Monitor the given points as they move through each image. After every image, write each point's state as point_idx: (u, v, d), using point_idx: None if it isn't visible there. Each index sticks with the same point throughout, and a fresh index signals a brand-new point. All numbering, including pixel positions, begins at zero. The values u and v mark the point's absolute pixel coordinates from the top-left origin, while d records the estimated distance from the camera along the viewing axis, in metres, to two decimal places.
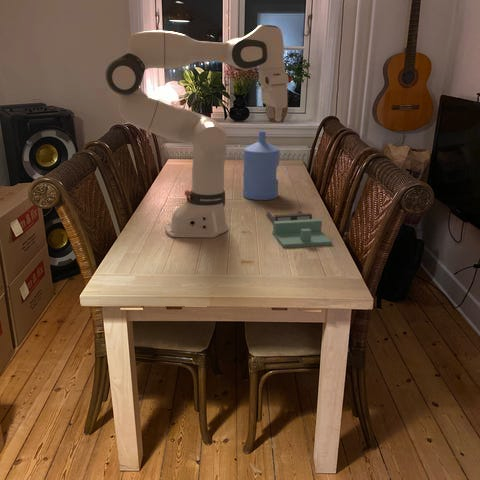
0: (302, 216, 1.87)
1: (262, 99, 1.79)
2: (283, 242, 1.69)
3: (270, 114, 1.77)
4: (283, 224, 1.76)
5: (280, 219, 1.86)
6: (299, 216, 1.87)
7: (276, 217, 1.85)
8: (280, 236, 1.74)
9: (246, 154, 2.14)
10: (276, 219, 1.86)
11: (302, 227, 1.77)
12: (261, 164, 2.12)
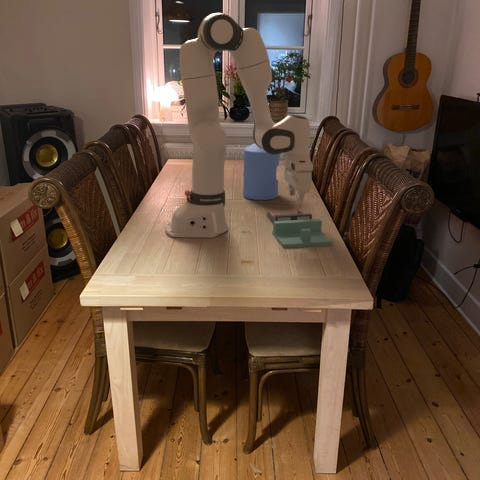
0: (302, 216, 1.87)
1: (285, 177, 1.90)
2: (283, 242, 1.69)
3: (292, 192, 1.89)
4: (283, 224, 1.76)
5: (280, 219, 1.86)
6: (299, 216, 1.87)
7: (276, 217, 1.85)
8: (280, 236, 1.74)
9: (246, 154, 2.14)
10: (276, 219, 1.86)
11: (302, 227, 1.77)
12: (261, 164, 2.12)
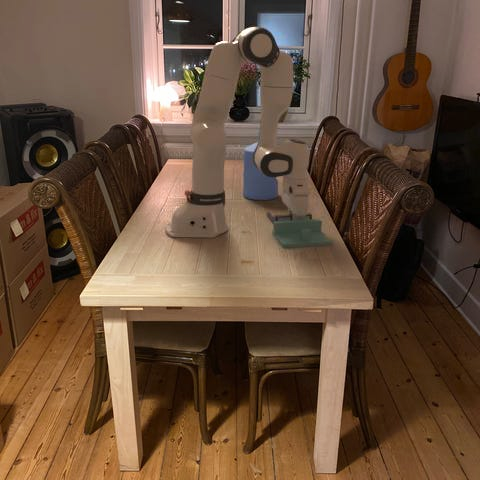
0: None
1: (282, 199, 1.93)
2: (283, 242, 1.69)
3: None
4: (283, 224, 1.76)
5: (280, 219, 1.86)
6: None
7: (276, 217, 1.85)
8: (280, 236, 1.74)
9: (246, 154, 2.14)
10: (276, 219, 1.86)
11: (302, 227, 1.77)
12: None
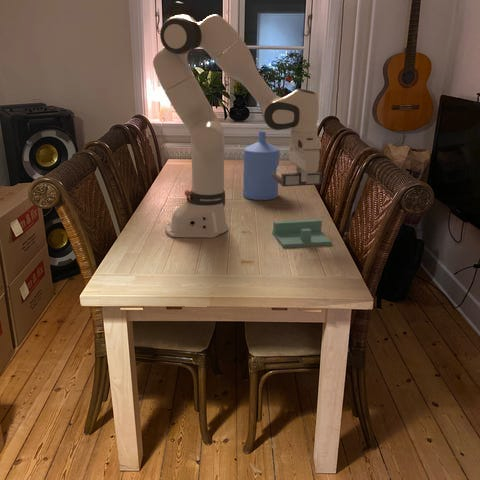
0: (311, 175, 1.73)
1: (289, 158, 1.79)
2: (283, 242, 1.69)
3: None
4: (283, 224, 1.76)
5: (288, 178, 1.72)
6: (308, 175, 1.73)
7: (284, 175, 1.71)
8: (280, 236, 1.74)
9: (246, 154, 2.14)
10: (284, 178, 1.72)
11: (302, 227, 1.77)
12: (261, 164, 2.12)
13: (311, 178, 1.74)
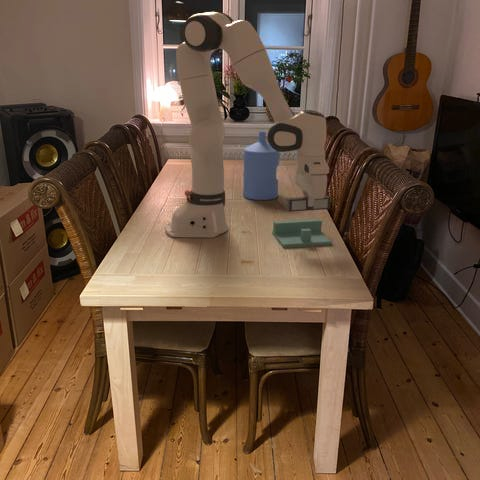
0: (319, 199, 1.65)
1: (296, 181, 1.71)
2: (283, 242, 1.69)
3: None
4: (283, 224, 1.76)
5: (294, 202, 1.64)
6: (316, 199, 1.65)
7: (290, 200, 1.63)
8: (280, 236, 1.74)
9: (246, 154, 2.14)
10: (290, 203, 1.64)
11: (302, 227, 1.77)
12: (261, 164, 2.12)
13: (319, 202, 1.66)
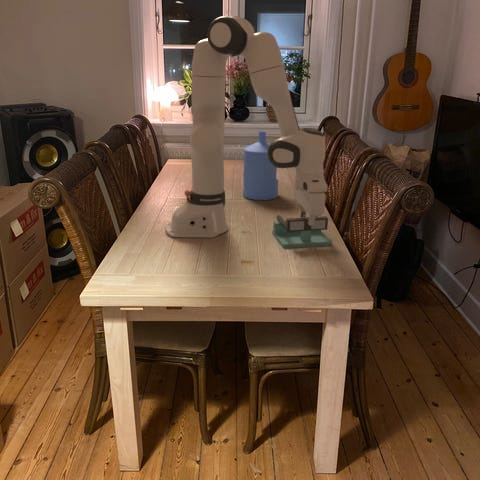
0: (317, 220, 1.68)
1: (294, 196, 1.73)
2: (283, 242, 1.69)
3: (302, 214, 1.71)
4: None
5: (293, 223, 1.66)
6: (314, 220, 1.68)
7: (288, 221, 1.66)
8: (280, 236, 1.74)
9: (246, 154, 2.14)
10: (288, 223, 1.66)
11: None
12: (261, 164, 2.12)
13: (316, 223, 1.68)
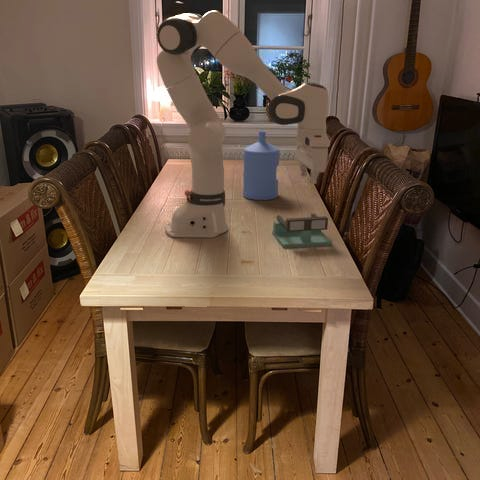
0: (317, 220, 1.68)
1: (296, 156, 1.69)
2: (283, 242, 1.69)
3: (303, 173, 1.68)
4: None
5: (293, 223, 1.66)
6: (314, 220, 1.68)
7: (288, 221, 1.66)
8: (280, 236, 1.74)
9: (246, 154, 2.14)
10: (288, 223, 1.66)
11: None
12: (261, 164, 2.12)
13: (316, 223, 1.68)
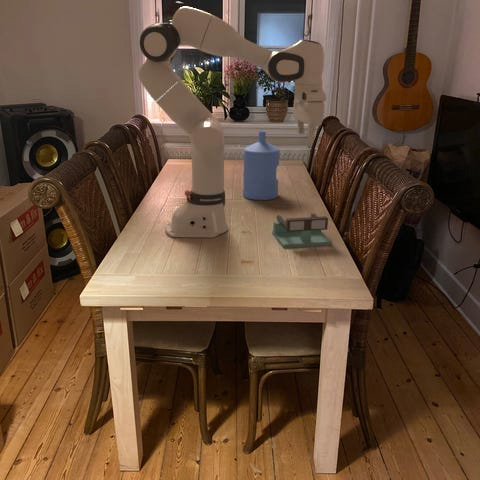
0: (317, 220, 1.68)
1: (293, 114, 1.75)
2: (283, 242, 1.69)
3: (301, 130, 1.73)
4: None
5: (293, 223, 1.66)
6: (314, 220, 1.68)
7: (288, 221, 1.66)
8: (280, 236, 1.74)
9: (246, 154, 2.14)
10: (288, 223, 1.66)
11: None
12: (261, 164, 2.12)
13: (316, 223, 1.68)
